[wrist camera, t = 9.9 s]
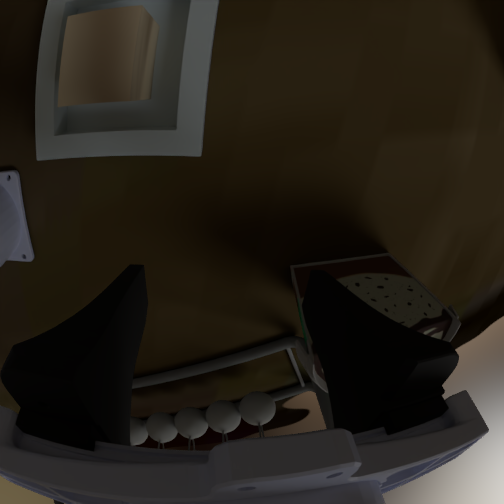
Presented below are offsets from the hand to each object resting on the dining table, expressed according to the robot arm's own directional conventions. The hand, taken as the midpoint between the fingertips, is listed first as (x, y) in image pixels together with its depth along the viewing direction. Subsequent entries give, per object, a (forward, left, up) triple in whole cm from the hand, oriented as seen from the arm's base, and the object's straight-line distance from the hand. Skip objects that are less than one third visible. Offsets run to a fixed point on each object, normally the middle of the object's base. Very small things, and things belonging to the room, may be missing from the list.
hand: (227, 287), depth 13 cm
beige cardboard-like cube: (-7, +10, -9) cm, 15 cm away
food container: (+11, -7, -10) cm, 16 cm away
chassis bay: (-7, +10, -9) cm, 15 cm away
